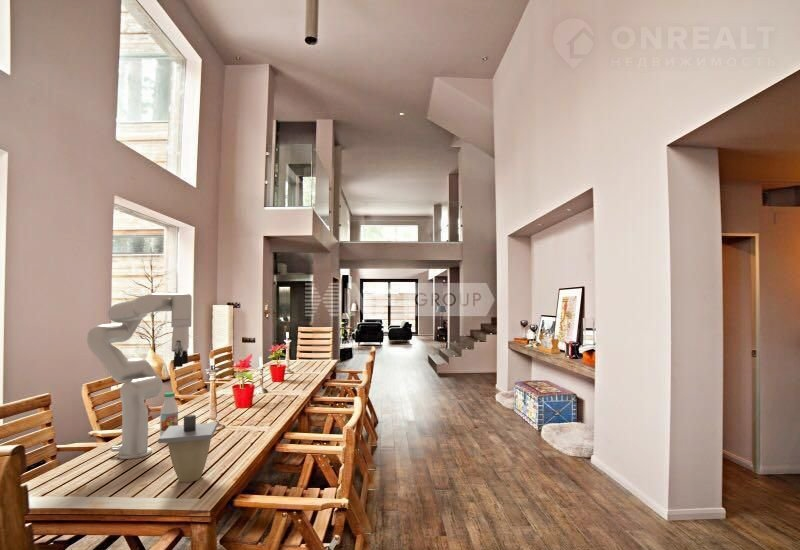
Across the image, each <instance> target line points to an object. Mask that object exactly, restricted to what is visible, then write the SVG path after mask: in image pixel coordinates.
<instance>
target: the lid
mask: <svg viewBox="0 0 800 550" xmlns="http://www.w3.org/2000/svg"><path fill="white" fill-rule="evenodd" d="M196 417H197V416H196V414H188V415H184V416H183V424H180V425H179V424H178V425H176V426H169V427H168V428H167V430H166V431H165V432H164V433H163V434H162V435H160V436H159V437H158V441H157V443H158V444H164V443H165V444H166V443H167V444H168V442H181V441H193V440H206V439H211V440H212V438H213V436H214V434H215V432H216V430H217V428H218V422H205V423H197V422H196V421H197V418H196Z"/></svg>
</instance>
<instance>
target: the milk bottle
mask: <svg viewBox="0 0 800 550" xmlns="http://www.w3.org/2000/svg"><path fill="white" fill-rule="evenodd" d="M175 395H176V393H175V392H173V391H171V392H165V393H164V395H163V397H164V401H163V404H162V405H161V408H160V419H159V420H160V421H159V423H160V424H159V425H160V426H159V435H160V436H161V435H162V434H163V433H164V432H165V431H166V430H167V428H168V427H169V426H176V425H179V408H178V405H177V403H176V401H175Z"/></svg>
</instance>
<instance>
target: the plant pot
mask: <svg viewBox="0 0 800 550" xmlns="http://www.w3.org/2000/svg"><path fill="white" fill-rule="evenodd" d="M211 441H212V438H211V439H206V440H193V441H181V442H168V443H167V445H168V452H169V455H170V461H171V464H172V467H173V469H174V472H175V475H176V477H177V479H178V481H179V483H191V482H192V483H193V482H196V481H198V480H199V479H200V478H201V477H202V476H203V475H202V474H203V472H204V469H205V466H206V463H207V460H208V457H209V456H208V455H209V451H210V447H211Z"/></svg>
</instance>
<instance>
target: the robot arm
mask: <svg viewBox="0 0 800 550" xmlns="http://www.w3.org/2000/svg"><path fill="white" fill-rule="evenodd" d="M192 297H193V296H192V294H190V293H170V292H169V293H168V292H165V293H164V292H163V293H162V292H161V293H160V292H159V293H158V292H155V293H154V292H153V293H149V294H145V295H141V296H138V297H136V298H135V299H132V300H131V299H130V300H128V301H123V302H122V301H121V302H119V303H115V304H113V305H112V306H111V307H109V308H108V310H107V317H108V318H109V320H111V321H112V322H114V323H105V324H99V325H95V326H93V327H92V328H90V330H89V331H88V332H87V336H86V337H87V339H86V342H87V345H88V348H89V350H90V352H91V353H92V354H93V355H94V356H95V358H97V360H98V361H100V362H101V364H102V365H103V368H105V370H106V372H107V373H108V374H109V375H110V376H111V378H112V379H113V380H114V381H115V382H116V383H118V384H120V383H121V384H122V383H123V384H122V385H121V387H120V388H119V389H120V390H119V396H120V401H121V408H122V411H121V413H122V420H121V422H122V424H121V425H122V428H121V429H122V430H121V444H120V445H112V446H110V452H112V453H116V452H117V454H116V455H117V458H118V459H120V460H121V459H122V460H133V459H139V458H142V457H145V456H148V455H150V454H151V453H152V447H150V446H148V444H149V442H148V441H149V439H148V437H149V409H148V407H147V404H146V403H145V400H148V399H153V398H155V397H158V396H159V395H161V394H162V392H163V390H164V383H163V381H162V378H161V377H160V376H159V374H158V373H157V372H156V370H155V369H154V367H153V366H152V365H151V363H150V362H148V361H147V360H146V359H144V358H141V357H140V358H139V357H138V358H137V357H135V358H128V357H126V356H125V355H124V353H123V352H122V351H121V349H119V348H118V347H117V346H114V345H113V344H116V343H117V344H118V343H123V342H126V341H127V342H128V341H129V339H131V338H132V336H133V335H134V334H135V332H136V330H137V328H139V326H140V323H142V321H143V319H144V318H145V317H147V316H148V315H149V313H155V312H157V313H158V312H171V321H170V322H171V323H170V324H171V327H170V328H172V335H171V336H172V337H171V352H172V353H173V352H174V353H173V368H181V367H183V366H184V365H187V364H188V361H189V360H188V359H189V358H188V357H189V355H188V349H189V346H190V344H189V343H190V333H189V331H190V328H191V327H192V314H193V313H192V311H193V310H192V305H193V304H192V300H193V298H192ZM183 364H184V365H183Z"/></svg>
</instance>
